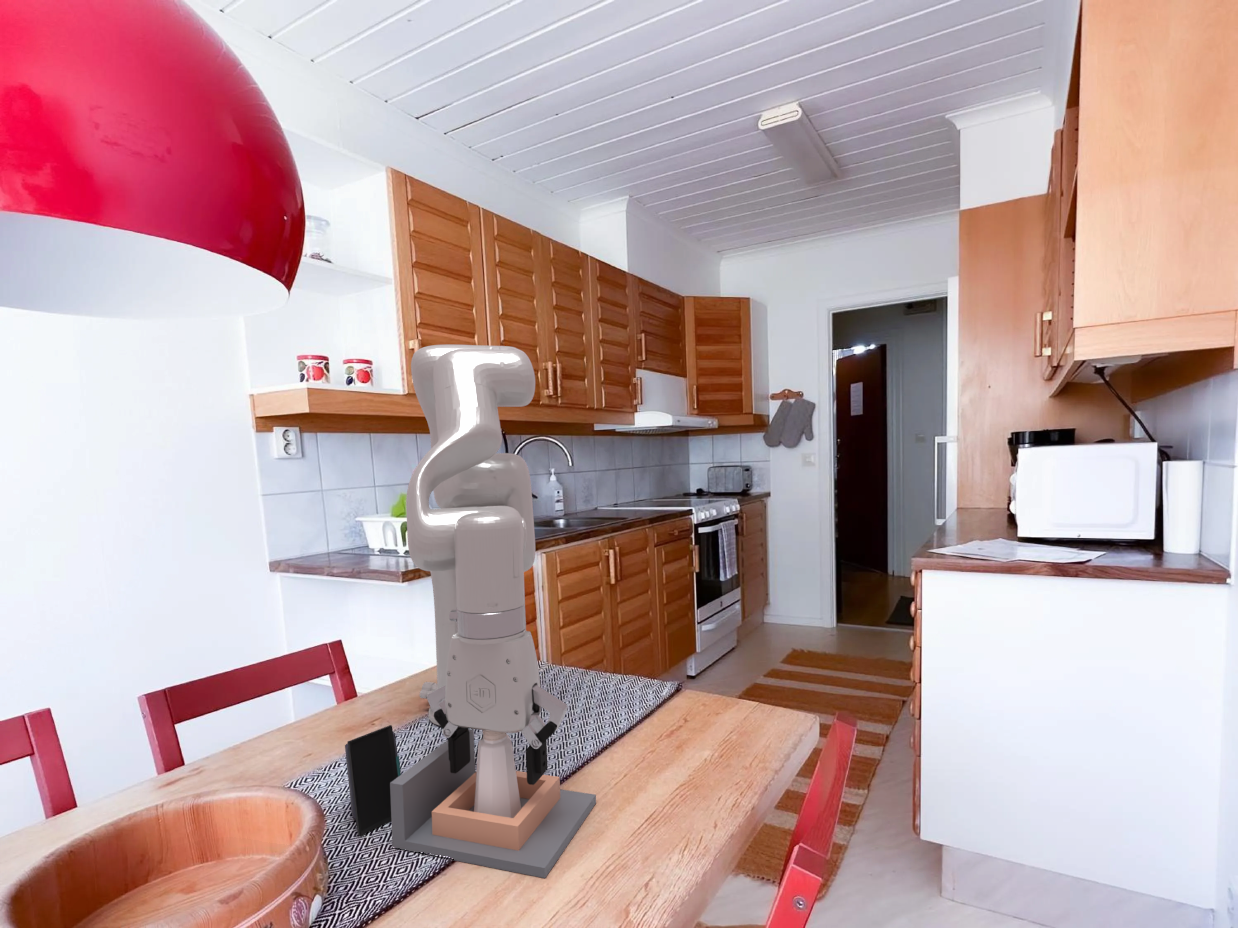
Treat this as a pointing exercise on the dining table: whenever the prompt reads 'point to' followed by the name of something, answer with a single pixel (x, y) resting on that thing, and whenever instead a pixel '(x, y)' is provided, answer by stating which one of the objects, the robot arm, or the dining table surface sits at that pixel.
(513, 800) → the salt shaker
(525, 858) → the gray walled base stand
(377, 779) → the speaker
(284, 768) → the dining table surface
